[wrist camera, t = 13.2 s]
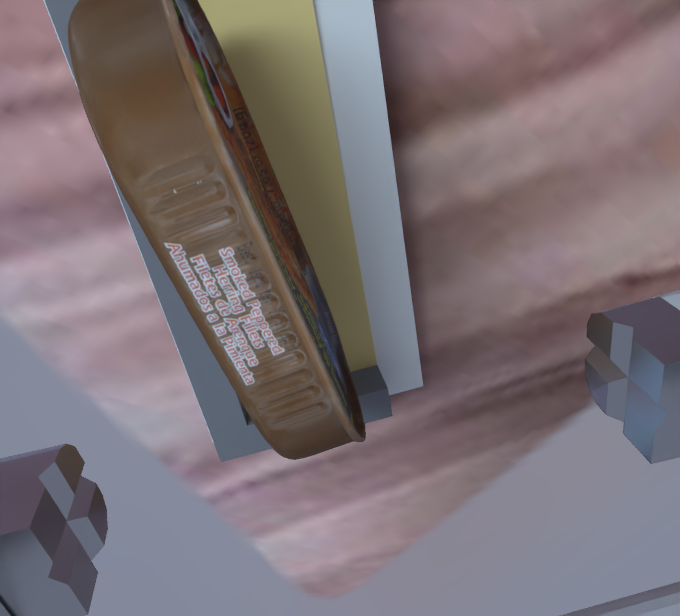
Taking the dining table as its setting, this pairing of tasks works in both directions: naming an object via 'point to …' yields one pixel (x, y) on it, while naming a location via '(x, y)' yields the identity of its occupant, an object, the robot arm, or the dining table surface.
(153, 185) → the tin
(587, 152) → the dining table surface
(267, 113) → the dock
